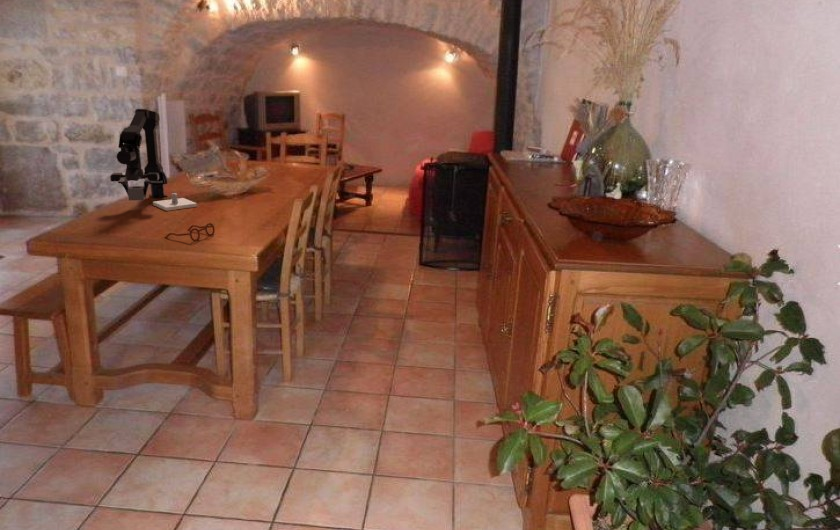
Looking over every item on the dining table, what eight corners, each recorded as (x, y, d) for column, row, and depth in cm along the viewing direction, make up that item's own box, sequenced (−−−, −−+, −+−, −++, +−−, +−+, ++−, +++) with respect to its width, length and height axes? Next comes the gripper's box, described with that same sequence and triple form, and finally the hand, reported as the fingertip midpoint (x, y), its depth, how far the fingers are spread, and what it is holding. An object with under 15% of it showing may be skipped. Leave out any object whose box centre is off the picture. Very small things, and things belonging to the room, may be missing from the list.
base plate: (153, 205, 285) (151, 192, 283) (183, 201, 294) (182, 189, 293) (166, 210, 276) (165, 198, 274) (197, 206, 285) (196, 194, 283)
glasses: (192, 243, 233) (191, 230, 231) (164, 238, 237) (162, 225, 235) (215, 234, 244) (214, 222, 243) (188, 230, 249) (187, 218, 247)
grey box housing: (128, 200, 272) (127, 188, 270) (131, 197, 277) (129, 185, 276) (143, 200, 273) (142, 188, 272) (145, 197, 279) (144, 185, 277)
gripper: (105, 163, 261) (110, 201, 265) (154, 163, 265) (157, 200, 270) (111, 159, 271) (115, 195, 276) (157, 159, 275) (161, 194, 280)
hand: (137, 196), depth 275 cm, fingers closed on grey box housing, 6 cm apart
